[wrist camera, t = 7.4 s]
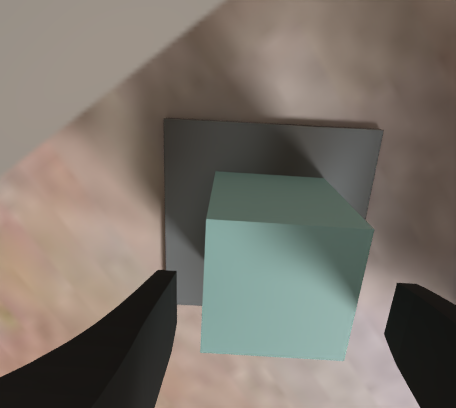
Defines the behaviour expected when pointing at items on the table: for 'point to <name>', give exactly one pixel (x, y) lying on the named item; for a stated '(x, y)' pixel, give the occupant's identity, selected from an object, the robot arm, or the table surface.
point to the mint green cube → (281, 267)
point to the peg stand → (255, 164)
